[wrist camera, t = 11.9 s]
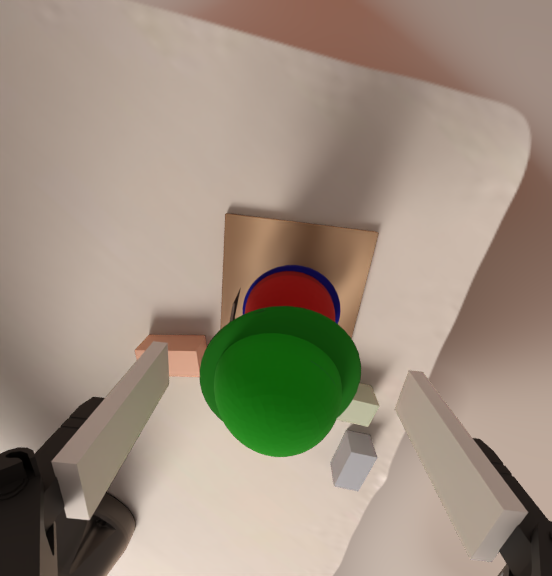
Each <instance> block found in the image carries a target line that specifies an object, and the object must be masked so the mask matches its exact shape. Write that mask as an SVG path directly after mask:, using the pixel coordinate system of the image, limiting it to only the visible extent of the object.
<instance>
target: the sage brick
mask: <svg viewBox="0 0 552 576" xmlns="http://www.w3.org/2000/svg"><path fill="white" fill-rule="evenodd" d="M378 408H379V404H378V401H377V399H376V396H375V394H374V391H373V389H372V386H370V385H366V384H362V383H359V386H358V390H357V393H356V394H355V396H354V398H353V400H352V402H351V403H350V405H349V406H348V408H347V409H346V410H345V411H344V412H343V413H342V414H341V415H340V416H339V417H338V418H337V419H336V420H340V421H344V422H349V423H353V424H357V425H362V426H366V427H368V426H369V424H370V423H371V421H372V419H373V417H374V415H375V413H376V411H377V410H378Z"/></svg>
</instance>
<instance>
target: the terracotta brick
mask: <svg viewBox="0 0 552 576" xmlns="http://www.w3.org/2000/svg"><path fill="white" fill-rule="evenodd" d="M153 341H156V342H165V343H168V364H169V376H181V377H200V365H201V360H202V357H203V354H204V352H205V350H206V348H207V345H206V338H205V335H148V336H147V337H146V339H145V340H144V341H143V342H142V343H141V344H140V345H139V346H138V347H137V348H136V349H135V354H136V358H137V360H138V359H139V358H140V356H141V355H142V354H143V353H144V352H145V351H146V349H147V348H148V347H149V346H150V345H151V343H152V342H153Z"/></svg>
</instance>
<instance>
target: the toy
mask: <svg viewBox="0 0 552 576" xmlns="http://www.w3.org/2000/svg"><path fill="white" fill-rule="evenodd" d="M240 289H241V288H240ZM239 294H240V290H239V292H238V294H237V296H236V298H235V301H234V303H233V306H232V311H231V317H230V322H229V323H228V324H227V325H225V326H224V327H223V328H222V329H221V330H220V331H219V332H218V333H217V334H216V335H215V336H214V337H213V339H212V340H211V341H210V343H209V344H208V346H207V348H206V350H205V352H204V354H203V357H202V360H201V365H200V385H201V390H202V393H203V396H204V398H205V400H206V402H207V404H208V405H209V407H210V408H211V410H212V411H213V412H214V413H215V414H216V415H217V417H218V418H220V419H221V420H222V421H223V422H224V424H225V425H226V427H227V428H228V430H229V431H230V432H231V433H232V434H233V436H234V437H235V438H236V439H237V440H239V441H240V442H241V443H242V444H244V445H245V446H246V447H248V448H250V449H252V450H253V451H256V452H258V453H261V454H264V455H268V456H274V457H287V456H293V455H297V454H301V453H303V452H305V451H307V450H309V449H311V448H313V447H314V446H316V445H317V444H318V443H319V442H321V441H322V440H323V439H324V437H325V436H326V435H327V434H328V433H329V431H330V430H331V429H332V427H333V425H334V423H335V421H336V419H337V418H338V417H339V416H340V415H341V414H342V413H343V412H344V411H345V410H346V409H347V408H348V406H349V405H350V403H351V402H352V400H353V398H354V396H355V394H356V393H357V390H358V386H359V383H360V378H361V363H360V358H359V353H358V351H357V348H356V346H355V344H354V342H353V341H352V339H351V337H350V336H349V335H348V334H347V333H346V331H345V330H344V329H343V328H342V327H340V326H339V325H338V322H339V319H340V312H341V310H340V301H339V297H338V294H337V292H336V290H335V288H334V286H333V285H332V284H331V282H330V281H329V280H328V279H327V278H326V277H325V276H324V275H322V274H321V273H319V272H318V271H316V270H314V269H311V268H309V267H305V266H300V265H285V266H280V267H276V268H273V269H271V270H269V271H267V272H265V273H263V274H262V275H261V276H260V277H258V278H257V279H256V280H255V281H254V282H253V283H252V285H251V286H250V288H249V289H248V291H247V293H246V296H245V299H244V302H243V308H242V310H243V315H242V316H240V317H238V318H236V319H235V314H236V309H237V304H238V299H239Z"/></svg>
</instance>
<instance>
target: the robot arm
mask: <svg viewBox="0 0 552 576" xmlns="http://www.w3.org/2000/svg"><path fill="white" fill-rule="evenodd" d="M168 385H169V364H168V343H165V342H156V341H153V342H152V343H151V345H150V346H149V347H148V348H147V349H146V351H145V352H144V353H143V354H142V355H141V356H140V358H139V359H138V360H137V361H136V362H135V363H134V365H133V366H132V367H131V368H130V369H129V371H128V372H127V373H126V374H125V375H124V376H123V378H122V379H121V380H120V381H119V382H118V384H117V385H116V386H115V387H114V388H113V389H112V391H111V392H110V393H109V394H108V395H107V396H106V398H100V397H92V398H91V399H89V400H88V401H86V402H85V403H83V404H82V405H80V406H79V407H78V408H77V409H76V410H75V411H74V412H73V413H72V415H71V416H70V417H69V419H67V420H66V421H65V422H64V423H63V424H62V425H61V428H58V430H57V431H56V432H55V433H54V434H53V435H52V436H51V437H50V438H49V439H48V440H47V441H46V442H45V443H44V445H43V446H42V447H41V448H40V449H39V450H38V451H37V452H36V453H35V454H34V452H33V450H31V449H29V448H15V449H11V450H7V451H5V452H3V453H1V454H0V576H107V574H108V573H109V572H110V570H111V569H112V568H113V566H114V565H115V563H116V562H117V561H118V559H119V558H120V557H121V555H122V554H123V553H124V551H125V550H126V548H127V546H128V544H129V541H130V539H131V537H132V535H133V533H134V530H135V521H134V518H133V516H132V514H131V513H130V511H129V510H128V509H127V508H126V507H125V506H124V505H123V504H122V503H121V502H120V501H118V500H117V499H115V498H114V497H112V496H110V495H108V494H106V491H107V490H108V488H109V486H110V484H111V483H112V481H113V479H114V478H115V476H116V474H117V472H118V471H119V469H120V467H121V466H122V464H123V462H124V460H125V459H126V457H127V455H128V454H129V452H130V450H131V448H132V447H133V445H134V443H135V442H136V440H137V438H138V436H139V435H140V433H141V431H142V430H143V428H144V426H145V424H146V423H147V421H148V419H149V418H150V416H151V414H152V412H153V411H154V409H155V407H156V406H157V404H158V402H159V400H160V399H161V397H162V395H163V394H164V392H165V390H166V388H167V387H168ZM395 410H396V412H397V414H398V416H399V418H400V420H401V422H402V424H403V426H404V428H405V430H406V432H407V434H408V436H409V438H410V440H411V442H412V444H413V446H414V448H415V450H416V452H417V454H418V456H419V458H420V460H421V462H422V464H423V466H424V468H425V470H426V472H427V474H428V476H429V478H430V480H431V482H432V484H433V486H434V488H435V490H436V492H437V494H438V496H439V498H440V500H441V502H442V504H443V506H444V508H445V510H446V512H447V514H448V516H449V518H450V520H451V522H452V524H453V526H454V528H455V530H456V532H457V534H458V536H459V538H460V540H461V542H462V544H463V546H464V548H465V550H466V552H467V554H468V556H469V558H470V560H478V561H487V562H492V561H493V560H494V558H495V557H496V556H497V554H498V553H499V552H500V553H501V555H502V556H503V558H504V560H505V561H506V563H507V564H506V566H505V567H504V568H503V569H502V571H501V572H500V573H499V575H498V576H552V522H551V521H549V520H548V519H547V518H546V517H545V515H544V514H543V513H542V511H541V510H540V509H539V508H538V506H537V505H536V504H535V503H534V501H533V500H532V499H531V498H530V496H529V495H528V494H527V493H526V492H525V490H524V489H523V488H522V486H521V485H520V484H519V483H518V481H517V480H516V479H515V478H514V477H512V475H511V473H510V471H509V470H508V469H507V468H506V466H504V465H503V462H502V461H501V460H500V459H499V457H498V456H497V455H496V454H495V452H494V451H493V450H492V449H491V448H489V447H488V446H487V445H486V444H485V443H484V442H483V441H481V440H480V439H476V438H472V437H471V436H470V434H469V433H468V432H467V430H466V429H465V428H464V426H463V425H462V424H461V422H460V421H459V420H458V418H457V417H456V416H455V414H454V413H453V412H452V410H451V409H450V408H449V406H448V405H447V404H446V402H445V401H444V400H443V398H442V397H441V396H440V395H439V393H438V392H437V390H436V389H435V388H434V386H433V385H432V384H431V383H430V381H429V380H428V378H427V377H426V376H425V374H424V373H423V372H419V371H410V370H409V371H408V374H407V377H406V379H405V382H404V385H403V388H402V391H401V393H400V396H399V399H398V402H397V404H396V407H395Z"/></svg>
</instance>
